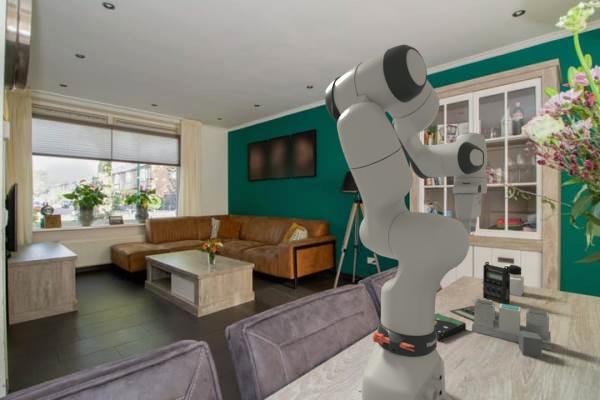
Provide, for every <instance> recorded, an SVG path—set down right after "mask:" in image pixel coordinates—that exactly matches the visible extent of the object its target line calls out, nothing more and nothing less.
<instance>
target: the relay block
mask: <svg viewBox="0 0 600 400" xmlns="http://www.w3.org/2000/svg"><path fill="white" fill-rule="evenodd" d="M518 349H519V351H520V352H521V354H522V355H523V356H525V357H531V358H537V359H538V358H539V359H542V358H543V355H542V353H543V349H542V339H541V338H540V336H539V335H538V334H537V333H533V332H526V331H519V343H518Z"/></svg>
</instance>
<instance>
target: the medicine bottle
mask: <svg viewBox="0 0 600 400" xmlns="http://www.w3.org/2000/svg"><path fill="white" fill-rule="evenodd" d="M504 266H508V269H510V296H511V295H512V296H517V297H522V295H523V294H524V289H525V286H524V283H525V280H524V279H525V277H524V276H522V267H521V266H519V265H515V264H506V265H504ZM506 268H507V267H506Z"/></svg>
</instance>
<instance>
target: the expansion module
mask: <svg viewBox="0 0 600 400" xmlns="http://www.w3.org/2000/svg"><path fill="white" fill-rule="evenodd" d="M521 309H522V308H521V307H520V306H515V305H512V304H508V305H506V304H500V303H499V306H498V312H499V319H498V320H499V331H503V332H508V333H512V334H516V335H519V331H520V325H521V312H522V311H521Z"/></svg>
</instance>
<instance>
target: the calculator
mask: <svg viewBox="0 0 600 400" xmlns="http://www.w3.org/2000/svg"><path fill="white" fill-rule="evenodd" d="M449 312H450V313H452V314H454V315H457V316H459V317H461V318H464V319H466V320H469V321H472V323H473V322H474V305H470V306H465V307H461V308H455V309H451V310H450V311H449ZM495 320H499V311H496V310H495Z"/></svg>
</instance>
